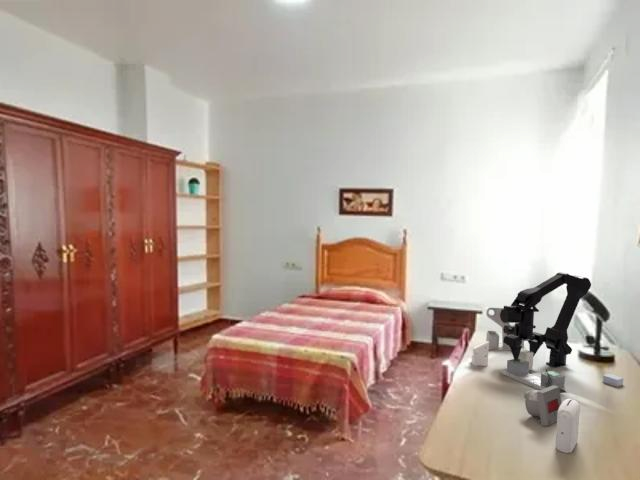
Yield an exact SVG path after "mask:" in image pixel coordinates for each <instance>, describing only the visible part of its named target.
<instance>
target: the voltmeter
mask: <svg viewBox="0 0 640 480" xmlns="http://www.w3.org/2000/svg"><path fill="white" fill-rule="evenodd" d="M545 372H547V374H548V372H549V371H548V370H547V369H545ZM548 377H549V379H550V381H551V378H550V376H549V374H548ZM549 379H548V382H549V383H548V382H547V384H548V387H547V384H546V382H545V384H546V387H547V388H545V389H542V390H539V389H537V390H536V389H530V390H528V391H527V392H524V394H523V395H524V399H525V401H524V402H525V403H524V404H525V410H526V412H527V413H528V414H529V416H533V417H538V418H540V419H538V422H539V423H541V426H546V427H547V426H549V425H552V424H554V423H557V414H558V409H559V407H560V405H561V404H562V398H561V397H562V396H561V393H560V390H559V387H558V386H555V385H553V386H551V383H552V381H551V383H550V381H549ZM549 384H550V386H549Z"/></svg>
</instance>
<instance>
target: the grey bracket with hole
mask: <svg viewBox="0 0 640 480" xmlns="http://www.w3.org/2000/svg"><path fill="white" fill-rule="evenodd" d="M502 309H504V307H503V308H502V307H488V309H486V316H487V318H488V319H490V320H491V321H492V322H494V323H496V324H497V325H498V326H499V327H501V330H502V331H501V334H502V335H501V339H502V342H500V334H499V333H498V332H497V331H496V330H495V331H494V330H487V331H486V339H485V340H486V341H485V342H487V341H488V342H489V348H491V349H490V350H494V349H502V350H501V351H507V350H511V348H510V347H509V346H508V345H506V343H503V338H504V337H505V336H510V335H511V334H510V335H507V334H506V333H504V331H503V328H504V326H506V325H510V327H515V324H516V323H514V325H511V324H510V323H503V322H502V321H501V318H500V313H501V310H502ZM490 310H491V311H493V314H490V313H489V312H490ZM517 323H518V322H517ZM512 336H514V334H513V335H512ZM515 337H518V336H515ZM520 346H522V349H525V350H528V349H527V348H526V347H525V341H523V342H522V344H521V345H520Z"/></svg>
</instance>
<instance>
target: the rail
mask: <svg viewBox="0 0 640 480" xmlns="http://www.w3.org/2000/svg"><path fill="white" fill-rule="evenodd" d="M529 371H530V370H529V362H527V361H524V360H521V359H514V358H511V359H507V362H506V368H505V369H501V374H502V375H504V376H507V377H508V378H511V379H513V380H515V381H517V382H520V383H522V384H524V385H525V384H526V385H527V386H530V387H531V388H534V389H537V390H538V391H540V390H542V389H545V388H547V387H548V384H547V382H548V379H549V377H548V374H549V376H550V378H551V381H552V383H551V381H550V379H549V381H550V383H551V386H553V385H555V386H558V387H559V390H560V394H561V393H565V392H566V390H564V389H566V387H565V380H566V379H565V378H566V375H565V374H562V373H559V372H556V371H553V370H552V371H551V370H550V371H547V372H548V374H547V372H546V371H545V372H541V373H540V377H539V376H536V375H534V374H531V373H529ZM545 382H546V384H547V387H546V384H545ZM548 383H549V382H548ZM549 386H550V384H549Z"/></svg>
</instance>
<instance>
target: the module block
mask: <svg viewBox="0 0 640 480" xmlns="http://www.w3.org/2000/svg"><path fill="white" fill-rule="evenodd" d="M518 359H521V360H524V361H527V362H529V370H528V371H531V370H533V365H534V357H533V352H530V350H528V349H527V350H525V349H522V348H521V351H520V354H519V357H518Z"/></svg>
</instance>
